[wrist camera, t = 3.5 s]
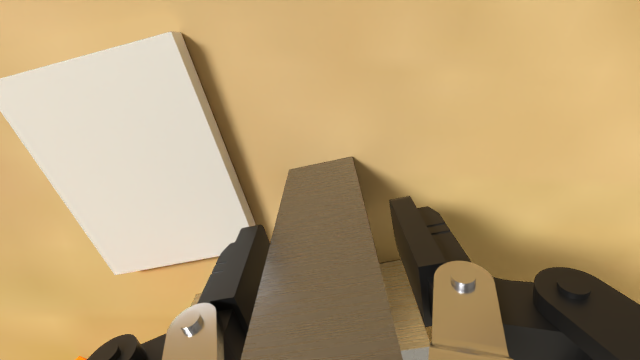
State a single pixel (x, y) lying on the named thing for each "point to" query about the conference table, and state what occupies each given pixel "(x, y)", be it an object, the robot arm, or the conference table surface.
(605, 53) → the conference table surface
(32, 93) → the pad
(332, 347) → the key
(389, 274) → the block
